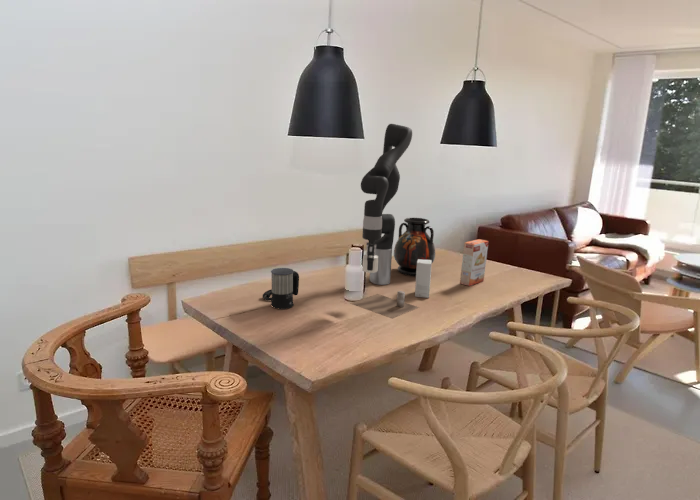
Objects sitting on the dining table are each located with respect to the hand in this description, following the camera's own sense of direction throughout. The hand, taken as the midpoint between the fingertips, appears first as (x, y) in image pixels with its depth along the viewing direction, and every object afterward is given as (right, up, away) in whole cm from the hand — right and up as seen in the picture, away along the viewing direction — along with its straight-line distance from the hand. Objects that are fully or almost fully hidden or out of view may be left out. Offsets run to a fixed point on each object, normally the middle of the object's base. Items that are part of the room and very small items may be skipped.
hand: (370, 267), depth 191 cm
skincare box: (+24, -13, +23) cm, 36 cm away
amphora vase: (+25, -5, +58) cm, 63 cm away
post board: (+6, -17, +4) cm, 18 cm away
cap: (0, -1, 0) cm, 1 cm away
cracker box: (+52, -9, +44) cm, 69 cm away
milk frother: (-38, -15, +6) cm, 41 cm away
